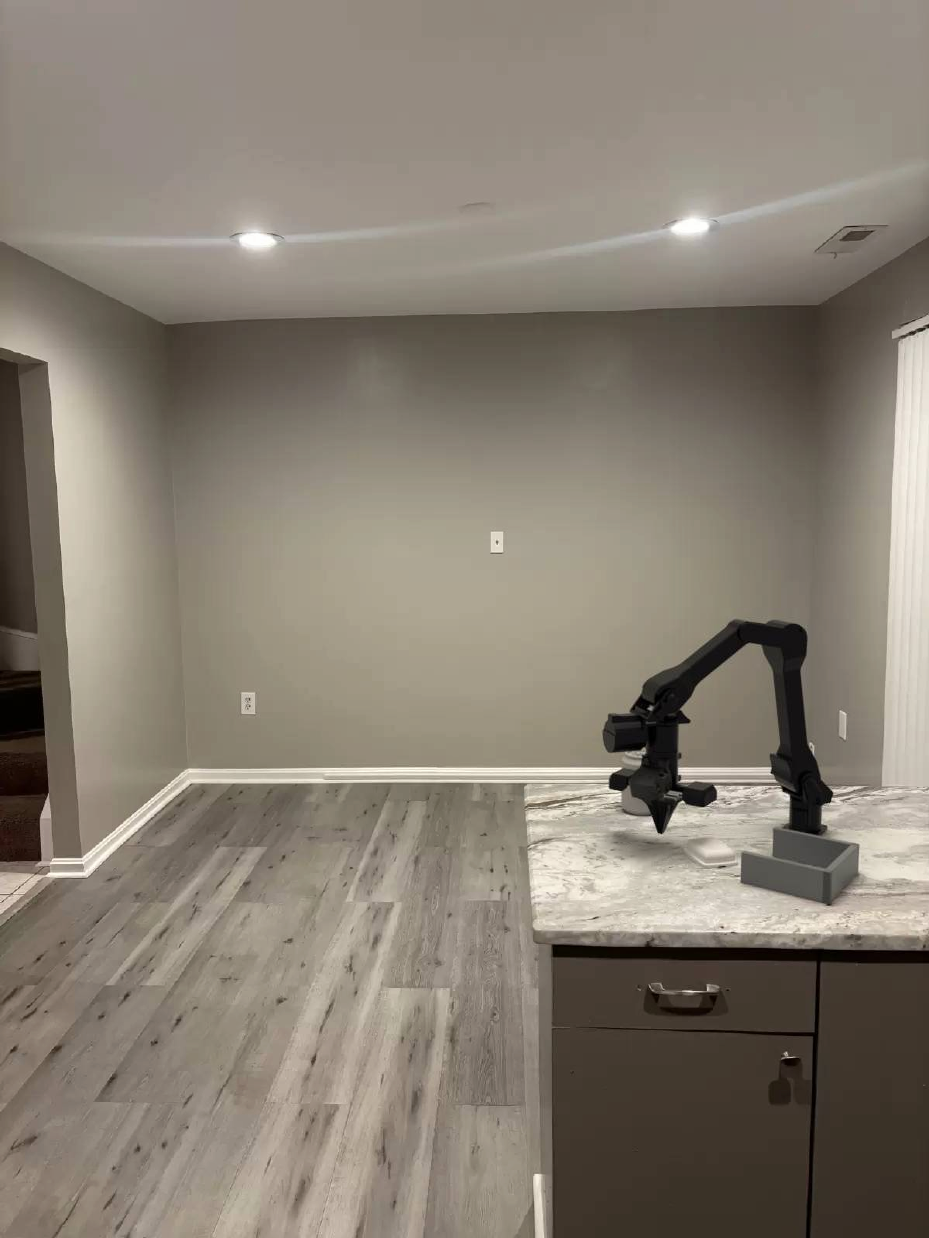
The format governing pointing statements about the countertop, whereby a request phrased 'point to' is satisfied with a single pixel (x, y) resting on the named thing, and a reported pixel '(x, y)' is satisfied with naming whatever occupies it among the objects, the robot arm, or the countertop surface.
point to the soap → (710, 852)
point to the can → (627, 801)
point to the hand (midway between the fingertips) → (660, 833)
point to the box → (803, 865)
